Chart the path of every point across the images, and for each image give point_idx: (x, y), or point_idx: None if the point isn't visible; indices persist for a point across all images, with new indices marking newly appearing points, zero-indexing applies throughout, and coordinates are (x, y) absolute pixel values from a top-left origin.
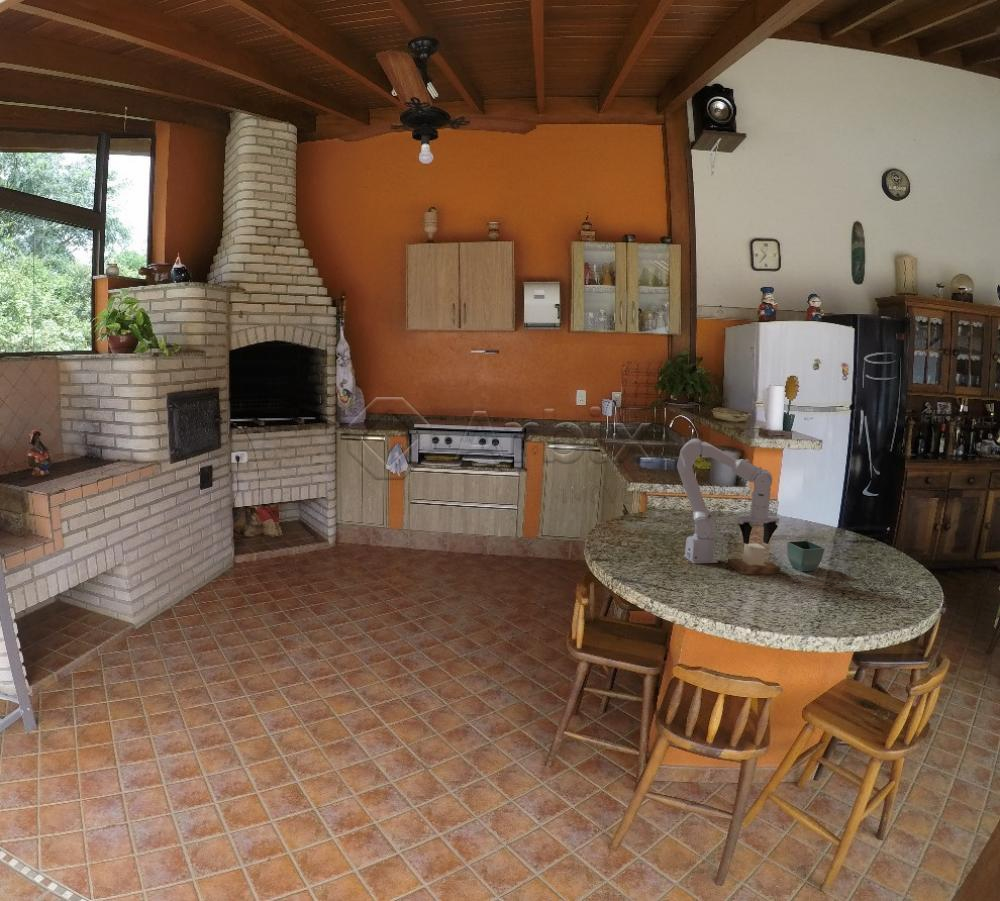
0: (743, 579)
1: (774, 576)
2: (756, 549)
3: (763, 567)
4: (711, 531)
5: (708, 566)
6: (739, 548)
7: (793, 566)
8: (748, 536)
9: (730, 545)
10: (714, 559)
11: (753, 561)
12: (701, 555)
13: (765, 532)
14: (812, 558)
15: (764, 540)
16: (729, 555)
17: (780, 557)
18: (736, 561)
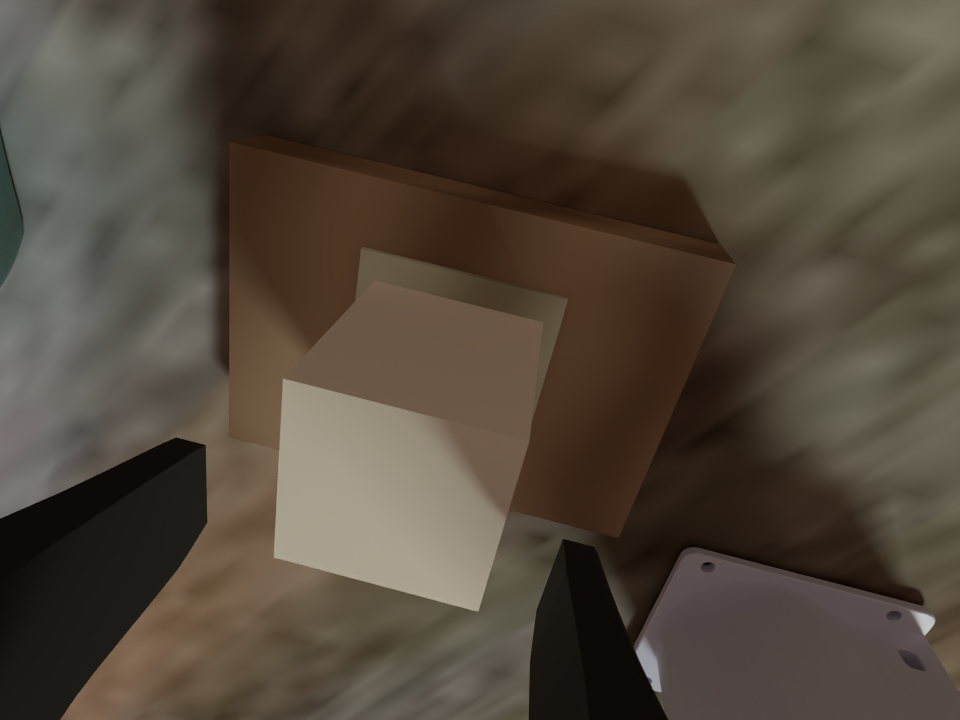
0: (877, 102)
1: (399, 63)
2: (457, 409)
3: (443, 214)
4: None
5: (853, 521)
6: (241, 666)
7: (16, 214)
8: (618, 676)
9: (269, 716)
10: (670, 595)
11: (509, 331)
12: (866, 663)
13: (61, 666)
14: None
15: (184, 527)
16: (424, 613)
17: (20, 446)
18: (600, 458)
